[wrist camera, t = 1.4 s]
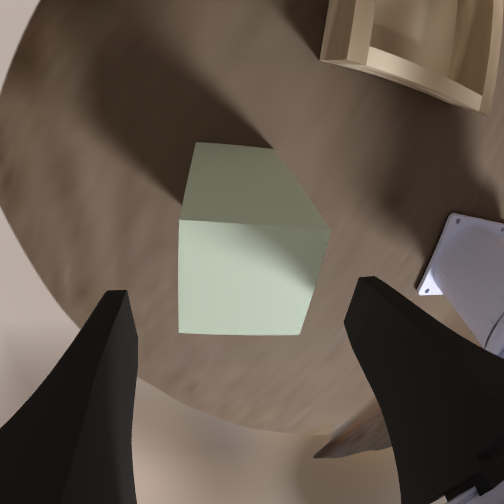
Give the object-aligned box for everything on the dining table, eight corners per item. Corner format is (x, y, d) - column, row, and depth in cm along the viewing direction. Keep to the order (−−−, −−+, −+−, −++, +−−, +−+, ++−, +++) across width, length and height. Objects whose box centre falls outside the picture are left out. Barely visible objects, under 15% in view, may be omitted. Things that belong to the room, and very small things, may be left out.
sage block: (273, 149, 18) (331, 230, 10) (262, 217, 20) (299, 334, 12) (196, 142, 17) (179, 220, 9) (191, 212, 19) (179, 332, 11)
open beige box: (465, -14, 12) (503, -17, 8) (450, 103, 17) (488, 116, 13) (339, -74, 10) (366, -97, 7) (319, 60, 15) (346, 59, 12)
